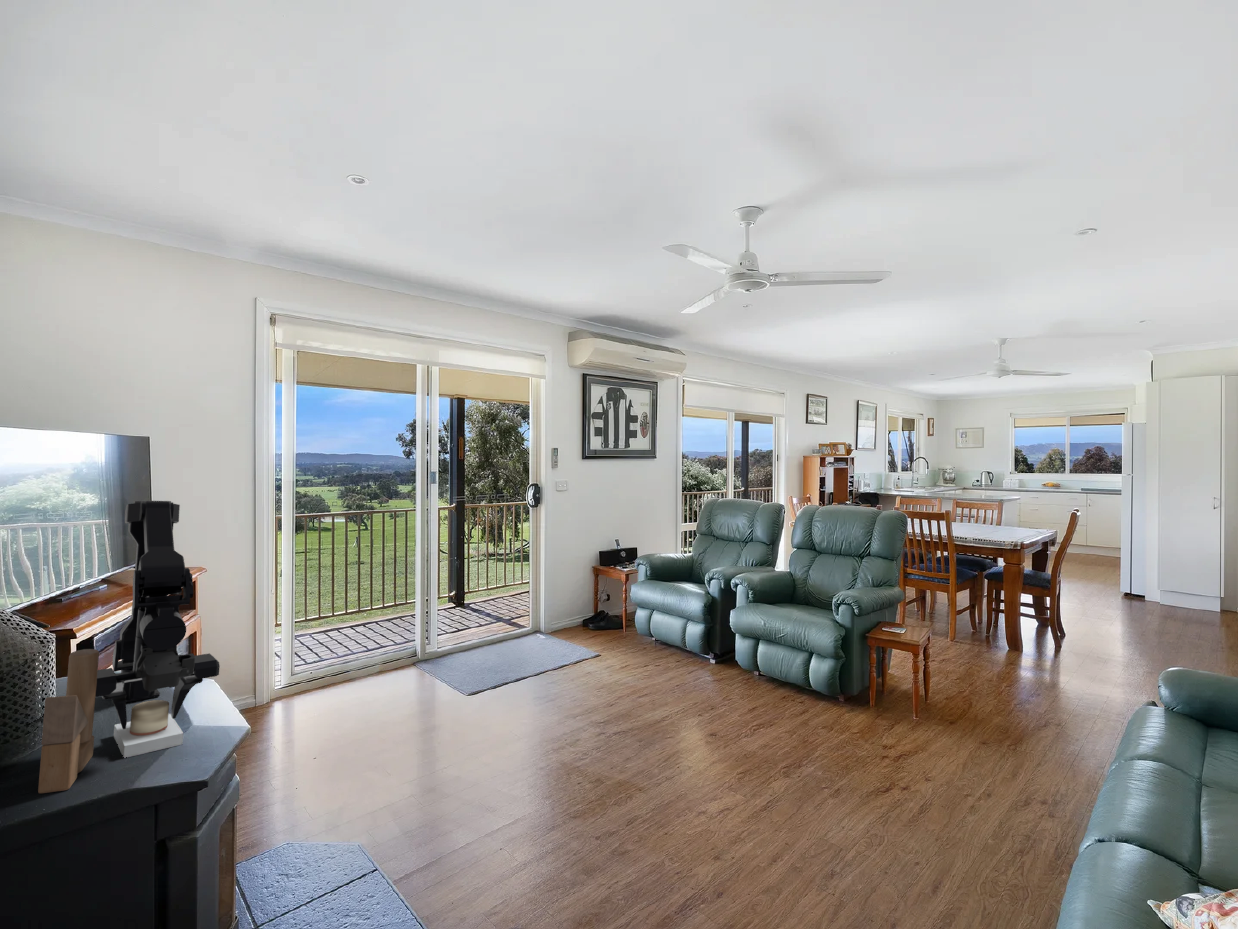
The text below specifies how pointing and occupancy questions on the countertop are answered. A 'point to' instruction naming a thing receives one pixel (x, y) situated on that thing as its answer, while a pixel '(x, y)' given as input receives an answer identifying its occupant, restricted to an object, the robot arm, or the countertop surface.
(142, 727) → the peg
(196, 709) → the countertop surface
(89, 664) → the wooden block
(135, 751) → the board
